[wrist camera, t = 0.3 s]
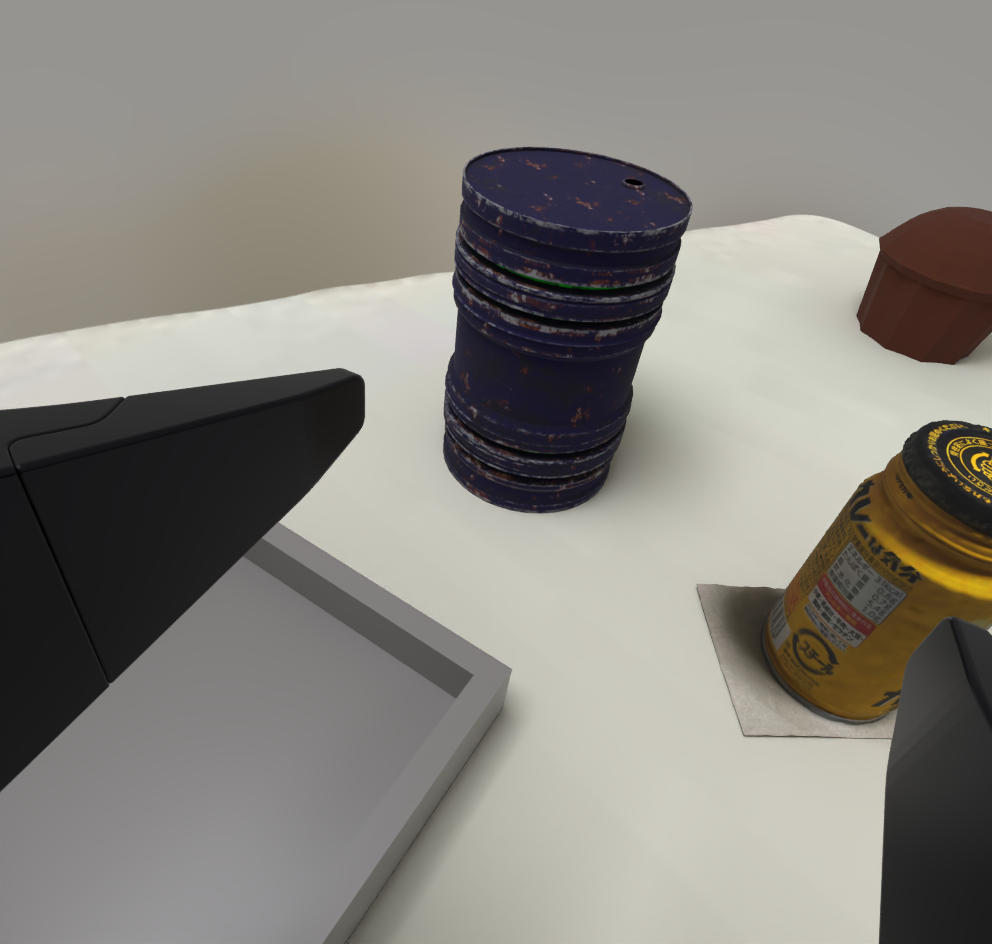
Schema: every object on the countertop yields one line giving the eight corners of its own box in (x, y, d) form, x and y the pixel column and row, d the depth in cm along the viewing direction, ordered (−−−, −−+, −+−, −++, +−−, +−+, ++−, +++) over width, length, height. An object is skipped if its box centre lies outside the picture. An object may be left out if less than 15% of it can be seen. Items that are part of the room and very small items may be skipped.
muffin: (910, 299, 58) (978, 188, 52) (1015, 365, 51) (1110, 246, 44) (811, 307, 55) (870, 189, 48) (908, 380, 47) (994, 252, 41)
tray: (134, 1259, 14) (91, 1278, 12) (-204, 825, 19) (-274, 788, 17) (502, 708, 25) (511, 669, 23) (219, 522, 30) (206, 477, 28)
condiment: (937, 740, 26) (1184, 554, 18) (742, 737, 25) (909, 541, 17) (857, 594, 31) (1019, 401, 23) (694, 588, 30) (803, 384, 22)
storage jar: (481, 534, 31) (523, 242, 21) (416, 416, 38) (424, 147, 27) (644, 490, 35) (746, 224, 25) (560, 389, 41) (614, 144, 31)
